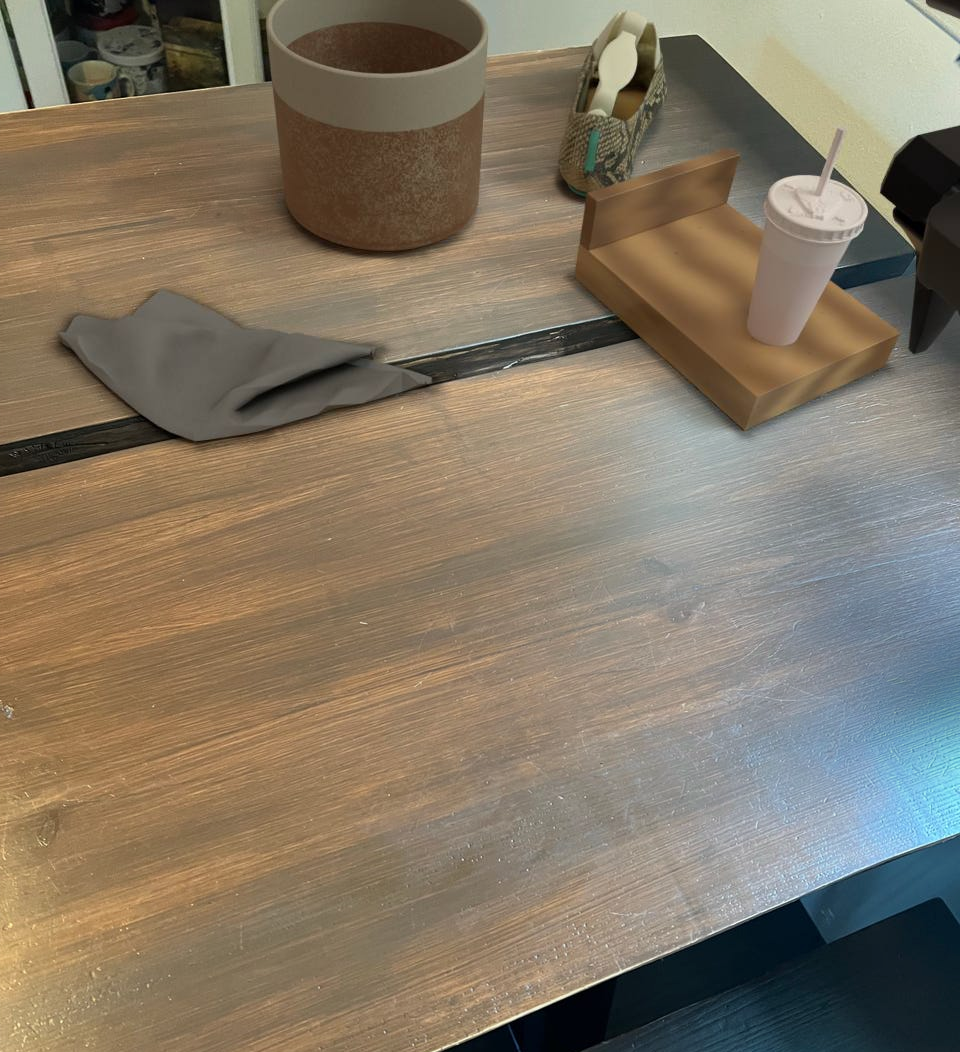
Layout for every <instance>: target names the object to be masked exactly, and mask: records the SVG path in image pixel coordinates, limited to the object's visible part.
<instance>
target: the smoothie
mask: <svg viewBox="0 0 960 1052" xmlns="http://www.w3.org/2000/svg"><path fill="white" fill-rule="evenodd" d="M847 131H848V127H847V126H845V125H838V126H837V128H836V132H835V134H834V137H833V140H832V143H831V146H830V148H829V151H828V155H827V157H826V161H825V163H824V166H823V168H822V172H821V174H820V175H819V176H818V175H811V174H805V175H804V174H797V175H791V176H790V175H789V176H787V177H783V178H781V179H779V180H777V181H775V182H774V183H773V184H772V185H771V186H770V188H769V189H768V193H767V196H766V198H765V200H764V203H763V205H762V206H763V212H764V216H765V221H764V226H763V231H764V232H763V238H762V244H761V249H760V255H759V260H758V265H757V271H756V276H755V282H754V287H753V293H752V298H751V304H750V309H749V315H748V320H747V330H748V332H749V333H750V335H751V336H752V337H754V338H755V339H756V340H758V341H760V342H762V343H764V344H768V345H772V346H786V345H789V344H792V343H793V342H795V341H796V340H797V338H798V336H799V335H800V333H801V331H802V329H803V327H804V325H805V324H806V322H807V320H808V318H809V316H810V315H811V313H812V311H813V309H814V307H815V305H816V304H817V302H818V300H819V298H820V296H821V295H822V293H823V291H824V289H825V287H826V285H827V284H828V282H829V280H830V281H831V279H832V276H833V275H834V273H835V271H836V269H837V267H838V265H839V264H840V261H841V260H842V259H843V257H844V255H845V253H846V251H847V249H848V248H849V246H850V244H851V241H852V240H854V239H855V238H857V237H858V236H859V235H860V234H861V233H862V231H864V227H865V226H864V225H865V222H866V219H867V217H868V213H869V210H868V205H867V203H866V202H865V200H864V198H863V197H862V196H861V195H860V194H859V193H858V192H857V191H856V190H854V189H853V188H851V187H849V186H848V185H846V184H844V183H842V182H840V181H837V180H834V179H831V176H832V172H833V170H834V167H835V165H836V162H837V159H838V156H839V153H840V150H841V148H842V146H843V142H844V140H845V137H846V134H847Z"/></svg>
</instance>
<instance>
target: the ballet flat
mask: <svg viewBox="0 0 960 1052" xmlns="http://www.w3.org/2000/svg"><path fill="white" fill-rule="evenodd" d="M660 46H661V45H660V33H659V29H658V25H657V23H656V22H655V21H653V22H649V19H648V18H647V16H644V15H642V14H640V13H638V12H636V11H633V10H630V9H626V10H625V12H622V11H619V12H618V13H616V14H615V15H614V16H613V17H612V18H611V19H610V21H609V22H608V23H607V24H606V25H605V27H604V29H603V30H602V31H601V32H600V34H599V35H598V37H596V38H595V39H594V41H592V45H591V46H590V48H589V51H588V53H587V55H586V57H585V60H584V61H583V64H582V66H581V69H580V72H579V75H578V77H577V82H576V87H577V91H576V94H575V97H574V100H573V103H572V106H571V109H570V113H569V115H568V120H567V124H566V128H565V131H564V135H563V138H562V142H561V144H560V147H559V150H558V151H559V152H558V155H557V156H558V159H557V163H558V169H559V172H560V174H561V177H562V179H564V181H565V182H566V184H567V186H568V188H569V189H570V190H571V191H572V192H573V193H575V194H576V195H579V196H581V197H584V198H586V197H587V193H589V192H592V191H595V190H599V189H602V188H605V187H608V186H611V185H614V184H617V183H621V182H624V181H627V180H630V179H631V175H632V173H633V170H634V165H635V164H634V162H635V158H636V155H637V151H638V149H639V147H640V146H639V145H640V144H641V142H642V139H643V137H644V135H645V133H646V131H647V129H648V127H649V125H650V123H651V122H652V120H653V119H654V118H655V116H656V115H657V114H658V112H659V111H660V109H661V108H662V107H663V105H664V104H665V102H666V100H667V96H668V87H667V80H666V76H665V75H666V73H665V70H664V69H665V67H664V56H663V52H662V50H661V47H660Z"/></svg>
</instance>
